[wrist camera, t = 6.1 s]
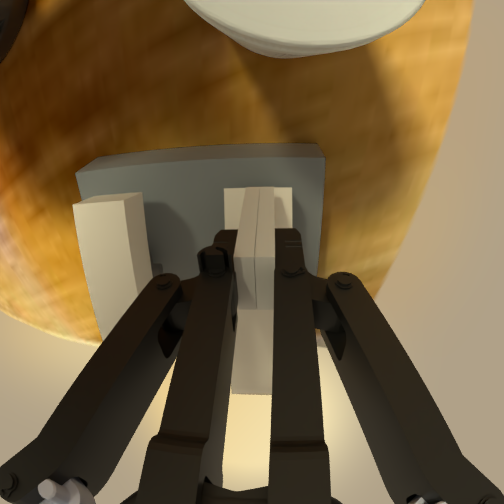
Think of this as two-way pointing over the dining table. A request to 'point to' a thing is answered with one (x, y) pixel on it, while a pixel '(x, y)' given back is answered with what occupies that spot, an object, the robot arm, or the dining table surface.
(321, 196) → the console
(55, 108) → the dining table surface
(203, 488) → the robot arm
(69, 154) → the dining table surface
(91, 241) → the switch left
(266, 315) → the switch right
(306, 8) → the supplement tub
